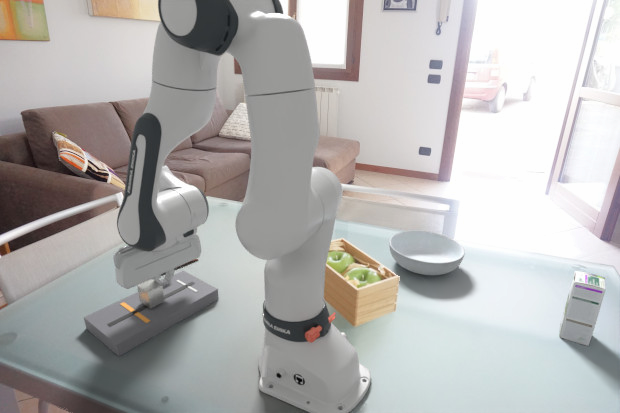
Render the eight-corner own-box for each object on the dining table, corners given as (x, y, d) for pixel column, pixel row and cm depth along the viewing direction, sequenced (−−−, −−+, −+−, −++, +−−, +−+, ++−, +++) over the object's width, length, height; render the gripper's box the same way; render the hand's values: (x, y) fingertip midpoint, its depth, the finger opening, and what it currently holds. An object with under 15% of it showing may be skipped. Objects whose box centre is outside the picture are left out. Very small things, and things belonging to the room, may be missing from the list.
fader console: (218, 299, 102) (217, 288, 101) (119, 356, 83) (116, 344, 82) (184, 280, 110) (183, 270, 109) (86, 328, 91) (83, 316, 90)
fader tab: (164, 301, 95) (162, 285, 94) (150, 308, 92) (147, 292, 91) (153, 294, 98) (151, 278, 96) (139, 301, 95) (137, 285, 93)
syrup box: (589, 347, 88) (608, 289, 83) (557, 337, 91) (574, 280, 85) (589, 332, 92) (607, 277, 87) (559, 323, 95) (574, 269, 90)
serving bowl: (461, 291, 107) (465, 268, 105) (382, 276, 114) (384, 255, 111) (461, 255, 126) (464, 235, 123) (392, 245, 132) (394, 225, 129)
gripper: (120, 255, 82) (130, 313, 88) (202, 224, 97) (207, 274, 102) (104, 246, 86) (115, 302, 91) (186, 217, 101) (191, 266, 106)
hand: (164, 287), depth 97 cm, fingers closed
